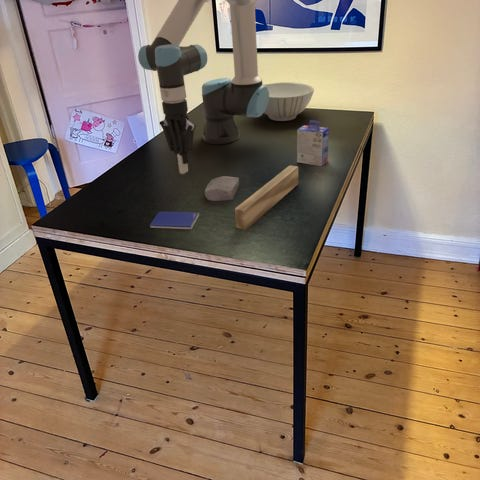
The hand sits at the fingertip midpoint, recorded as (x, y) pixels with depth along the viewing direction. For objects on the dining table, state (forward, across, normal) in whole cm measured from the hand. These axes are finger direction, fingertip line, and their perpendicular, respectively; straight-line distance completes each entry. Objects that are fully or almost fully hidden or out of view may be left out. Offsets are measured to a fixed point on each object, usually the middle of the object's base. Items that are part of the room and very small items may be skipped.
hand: (184, 172), depth 157 cm
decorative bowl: (+4, -4, +74) cm, 75 cm away
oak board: (+5, +32, 0) cm, 32 cm away
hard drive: (+6, +12, -20) cm, 24 cm away
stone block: (+6, +14, +1) cm, 15 cm away
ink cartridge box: (+5, +30, +34) cm, 46 cm away
